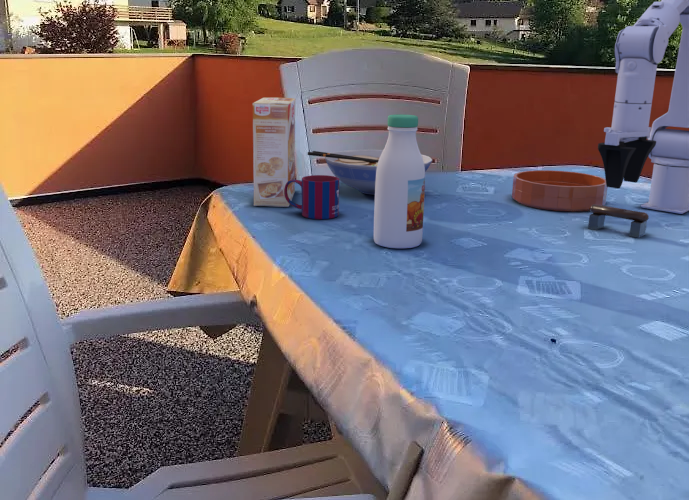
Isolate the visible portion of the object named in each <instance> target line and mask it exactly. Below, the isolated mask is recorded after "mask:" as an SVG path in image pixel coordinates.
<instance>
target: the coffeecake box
mask: <svg viewBox="0 0 689 500" xmlns="http://www.w3.org/2000/svg"><path fill="white" fill-rule="evenodd" d="M252 143H253V144H252V147H253V148H252V149H253V157H252V159H253V160H252V161H253V162H252V163H253V167H252V168H253V170H252V171H253V206H254V207H274V208H275V207H278V208H283V207H284V208H289V207H290V206H291V205H290V204H289V203H288V202H287V200H286V198H285V195H284V188H285V185H286V183H287V182H288V181H289V180H296V172H295V171H296V98H294V97H262V98H260V99H258V100H256V101H254V102H252ZM295 192H296V183H295V182H291V183H290V184H289V185H288V188H287V194H288V197H289V199H290V200H291V201H292V200H293V198H294V195H295Z"/></svg>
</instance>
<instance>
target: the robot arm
mask: <svg viewBox="0 0 689 500" xmlns="http://www.w3.org/2000/svg"><path fill="white" fill-rule="evenodd" d="M679 25H681V27H682V30H681V36H680V41H679V46H678V53H677V59H676V64H675V70H674V76H673V81H672V87H671V93H670V99H669V103H668V104H669V105H668V111H667V112H666V113H664V114H662V115H661V116H659V117H657V118H656V119H655V120H654V121H652V124H651V126H650V120H651V112H652V105H653V97H654V92H655V91H654V90H655V84H656V83H655V82H656V75H657V70H658V64H659V63H661V62H662V61H663V59H664V57H665V53H666V50H667V47H668V45H669V38H670V37H671V36H672V34H673V33H675V31H676V29H678V27H679ZM614 57H615V67H614V70H615V73H616V74H617V78H616V88H615V96H614V102H613V103H614V104H613V111H612V119H611V125H610V126H611V127H610V126H609V127H608V126H606V127H604V128H603V132H604V133H605V138H604V142H599V143H598V144H597V150H598V152H599V154H600V157H601V160H602V163H603V164H602V165H603V170H604V177H605V178H604V179H606V185H607V187H608V188H611V189H621V187H622V185H623V182H629V183H638V182H639V179H640V177H641V175H642V172H643V169H644V166H645V163H646V162H647V160H648V159H650V163H652V164H653V167H652V175H651V182H650V188H649V195H648V202H647V201H646V202H645V203H643V204H640V208H643V209H648V210H656V211H661V212H667V213H674V214H680V215H681V214H682V215H683V214H685V213H687V212H689V130H687V129H689V0H660V1H653V3H652V4H650V6H648V7H647V9H646V10H645V11H644V12H643V13H642V15H640V17H639V18H638V19H637V20H636V22H635V23H634V24H633V25H627V26H625V28H623V29H621V30H619V32H618V34H617V37H616V41H615V44H614ZM669 127H675V128H669ZM676 128H685V130H683V129H676Z"/></svg>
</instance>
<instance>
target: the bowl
mask: <svg viewBox="0 0 689 500" xmlns="http://www.w3.org/2000/svg"><path fill="white" fill-rule="evenodd" d="M608 188H609V187H607V185H606V179H605V178H604V177H601V176H598V175H594V174H591V173H590V174H589V173H584V172H577V171H566V170H551V169H547V170H546V169H539V170H537V169H536V170H525V171H523V170H522V171H518V172H515V173H514V174H513V178H512V190H511V198H512V199H513V200H514V201H516V202H517V203H519V204H521V205H524V206H526V207H531V208H535V209H541V210H545V211H547V210H548V211H555V212H588V211H590V207H591V206H592V205H594V204H596V205H602V206H606V203H607V194H608Z"/></svg>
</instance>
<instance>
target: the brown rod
mask: <svg viewBox="0 0 689 500" xmlns="http://www.w3.org/2000/svg"><path fill="white" fill-rule="evenodd" d="M589 211H590V212H591V214H593V213H594V214H600V215H605V217H613V218H618V219H625V220H630V221H640V222H646V221H647V222H648V221H649V218H650V217H649V214H648V213H647V212H643V211H638V210H633V209H626V208H620V207H614V206H607V205H604V206H602V205H596V204H594V205H592V206H591V207H590V210H589Z"/></svg>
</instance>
